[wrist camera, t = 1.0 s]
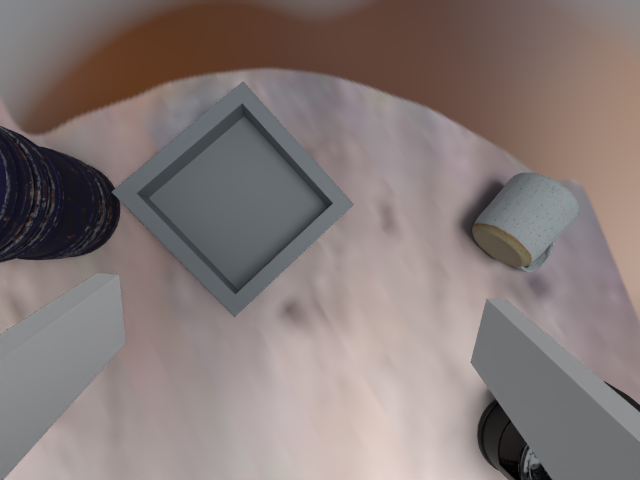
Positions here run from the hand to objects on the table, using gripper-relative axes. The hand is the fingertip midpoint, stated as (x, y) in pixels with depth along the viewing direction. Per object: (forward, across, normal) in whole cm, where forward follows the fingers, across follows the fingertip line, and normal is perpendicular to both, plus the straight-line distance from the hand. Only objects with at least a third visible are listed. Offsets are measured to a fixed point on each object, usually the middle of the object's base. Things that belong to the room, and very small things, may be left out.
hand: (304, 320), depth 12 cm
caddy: (+25, +7, +1) cm, 26 cm away
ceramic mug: (+28, -24, +3) cm, 37 cm away
